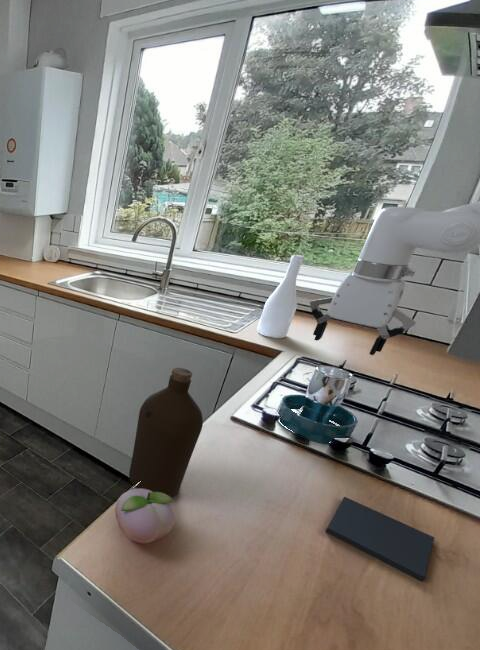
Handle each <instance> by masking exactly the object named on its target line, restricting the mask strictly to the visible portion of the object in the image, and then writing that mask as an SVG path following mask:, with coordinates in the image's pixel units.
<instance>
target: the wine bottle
mask: <svg viewBox="0 0 480 650" xmlns="http://www.w3.org/2000/svg"><path fill="white" fill-rule="evenodd" d="M304 259H305V258H304V255H301V254H292V256H291V257H290V258H289V265H288V267H287V270H286V271H285V275H284V277H283V279H282V280H281V281H280V283H279V284H278V286H277V287H276V288H275V289H274V291H273V292H272V293H271V295H270V296H269V297H268V298H267V300H266V301H265V303H264V306H263V309H262V313H261V315H260V318H259V321H258V325H257V327H256V331H257V333H258V334H260V335H262V336H265V337H268V338H271V339H282V338H285V337H287V335H288V333H289V330H290V327H291V324H292V322H293V320H294V317H295V314H296V310H297V308H298V298H297V297H298V296H297V279H298V274H299V271H300V270H301V269H300V268H301V265H302V263H303V262H304Z"/></svg>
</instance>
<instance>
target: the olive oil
mask: <svg viewBox="0 0 480 650" xmlns="http://www.w3.org/2000/svg"><path fill="white" fill-rule="evenodd" d="M192 376H193V372H192V371H191V370H189V369H187V368H183V367H174V368H172V371H171V374H170V375H169V378H168V384H167V386H166V387H165V388H162V389H161V390H158V391H156V392H154V393H152V394H150V395H149V396H148V397H146V399H145V400H144V402H143V403H142V404H141V406H140V409H139V412H138V419H137V425H136V431H135V436H134V437H135V438H134V443H133V450H132V455H131V456H132V457H131V460H130V461H131V462H130V467H129V472H128V479H129V481H130V482H131V484H132V485H133V486H134V487H135V485H136V484H137V483H138V482H140V481H141V482H140V483H139V484H138V485H137V486H136V487H135V489H138V488H141V489H147V490H150V491H152V492H161V493H164V494H166V495H168V496H170V497H171V498H173V497H175V496H177V495H178V493H179V492H180V490H181V487H182V484H183V480H184V478H185V475H186V471H187V469H188V466H189V465H190V464H189V463H190V461H191V458H192V456H193V453H194V450H195V448H196V445H197V442H198V440H199V438H200V435H201V433H202V430H203V425H204V420H203V419H204V418H203V413H202V410H201V408H200V406H199V405H198V403H197V402H196V401H195V399H194V398H193V397H192V395H191V394H190V393H189V389H190V386H191V383H192V379H191V378H192Z"/></svg>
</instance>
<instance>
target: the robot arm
mask: <svg viewBox="0 0 480 650" xmlns="http://www.w3.org/2000/svg"><path fill="white" fill-rule="evenodd" d="M479 246H480V201H476V202H471V203H467V204H463V205H459V206H455V207H452V208H448V209H445V210H443V211H442V210H441V211H430V210H428V209H426V208H420V207H411V206H410V207H409V206H385V207H384V208H382V209H380V210H379V211H378V213H377V215H376V216H375V218H374V221H373V223H372V226H371V228H370V230H369V233H368V235H367V237H366V239H365V242H364V244H363V247H362V249H361V251H360V254H359V255H358V259H357V260H356V263H355V265H354V268H353V269H352V271H349V272H348V273H347V274H345V277H344V278H343V280H342V281H341V283H340V285H338V288H337V289H336V291H335V293H334V296H329V297H323V298H317V299H312V300H311V301H310V302H309V305H310V310H311V315H312V316H313V318H314V319H315V320H316V323H317V324H316V325H315V329H314V331H313V336H315V337H314V341H319V340H321V339H322V338H323V335H324V333H325V331H326V329H327V327H328V321H329V320H332V319H336V320H340V321H345V322H349V323H353V324H357V325H362V326H366V327H369V328H376V330H377V331H378V333H379V335H378V336H377V337H376V338H375V341H374V342H373V344H372V347H371V349H370V351H369V353H368V354H369V355H370V356H375V354H377V353H376V352H379V353H381V352H382V350H383V348H384V346H385V344H386V342H387V340H389V339H390V338H393V337H395V336H398V335H402V334H403V333H405V332H406V331H408V330H410V329H411V328H413V327H414V326H415V325H416V323H417V321H416V320H414V319H413V318H411V317H410V316H409V315H407V314H406V313H404V312H403V311H401V310H399V309H398V306H399V304H400V301H401V299H402V296H403V293H404V290H405V287H406V280H405V279H402V278H404V277H414V275H415V273H416V272H417V271H416V269H412V268H411V267H410V266H409V263H410V261H411V259H412V257H413V255H414V253H415V251H416V249H417V248H418V249H422V250H426V251H432V252H437V253H441V254H449V255H450V254H451V255H452V254H460V253H466V252H469V251H471V250H474V249H475V248H477V247H479ZM321 305H328V308H327V311H326V313H325V314H323V311H321V309H320V306H321ZM393 317H394V318H395V319H396V320H398V321H399V322H401V325H399V326H397V327H395V328H392V329H390V327H389V325H388V324H390V323H391V321H392V319H393Z"/></svg>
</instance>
